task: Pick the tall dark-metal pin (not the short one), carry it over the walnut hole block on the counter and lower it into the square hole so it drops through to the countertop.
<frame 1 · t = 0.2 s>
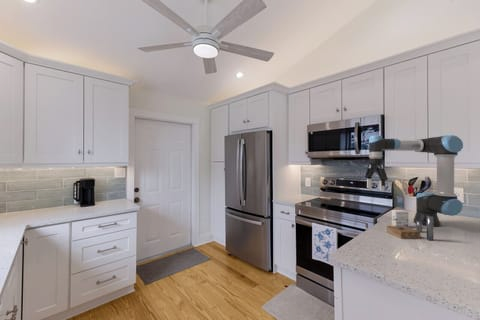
hand: (375, 189, 142), 28 cm above the worktop, fingers open, 13 cm apart
short pin: (419, 231, 139), on the worktop
ink box: (399, 227, 148), on the worktop
hole block: (402, 235, 132), on the worktop
long pin: (429, 239, 124), on the worktop
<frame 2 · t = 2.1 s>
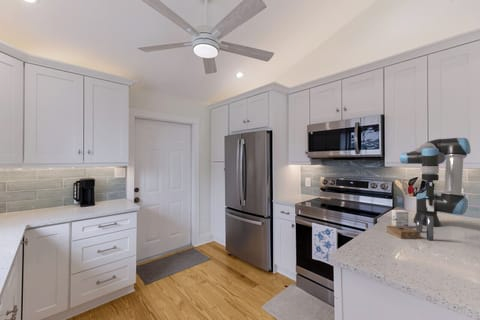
hand: (429, 209, 124), 18 cm above the worktop, fingers open, 13 cm apart
nothing on the worktop moved.
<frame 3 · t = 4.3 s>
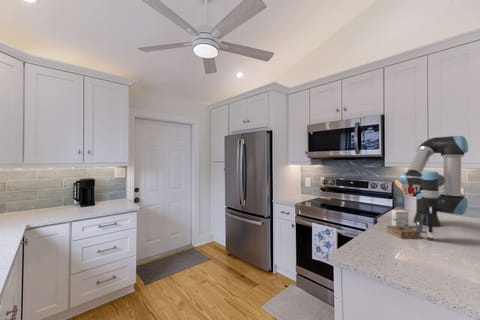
hand: (429, 236, 124), 2 cm above the worktop, fingers closed on long pin, 3 cm apart
long pin: (430, 239, 124), on the worktop, touching gripper
everything else where it was.
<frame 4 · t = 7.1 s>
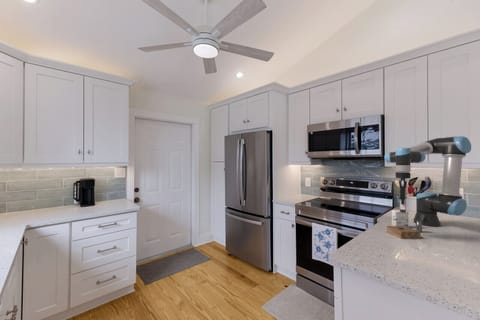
hand: (402, 208, 132), 17 cm above the worktop, fingers closed on long pin, 3 cm apart
long pin: (402, 212, 132), point 15 cm above the worktop, touching gripper
everything else where it was.
when the fingers open (5 cm above the worktop, at t = 10.4 s): long pin drops 3 cm, resting in hole block.
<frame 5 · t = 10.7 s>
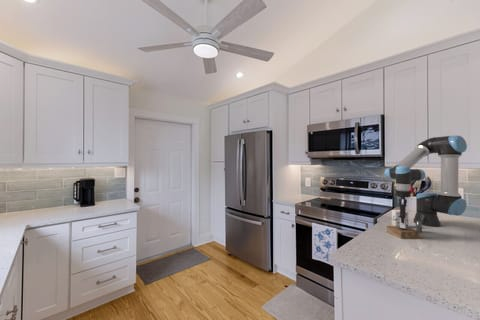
hand: (402, 226, 132), 5 cm above the worktop, fingers open, 7 cm apart
long pin: (402, 235, 132), resting in hole block
everything else where it was.
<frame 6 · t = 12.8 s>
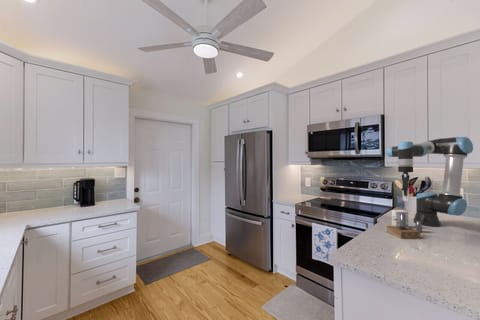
hand: (405, 199, 132), 23 cm above the worktop, fingers open, 13 cm apart
nothing on the worktop moved.
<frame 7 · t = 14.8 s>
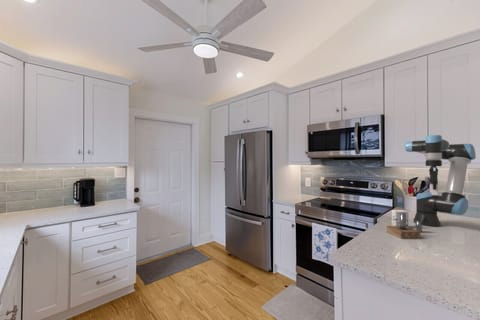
hand: (433, 193, 131), 27 cm above the worktop, fingers open, 13 cm apart
nothing on the worktop moved.
at the end: long pin 0.0 cm off-centre on the hole block, point 0.0 cm above the hole block's base; long pin tilted 0°; short pin moved 0.1 cm from its start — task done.
